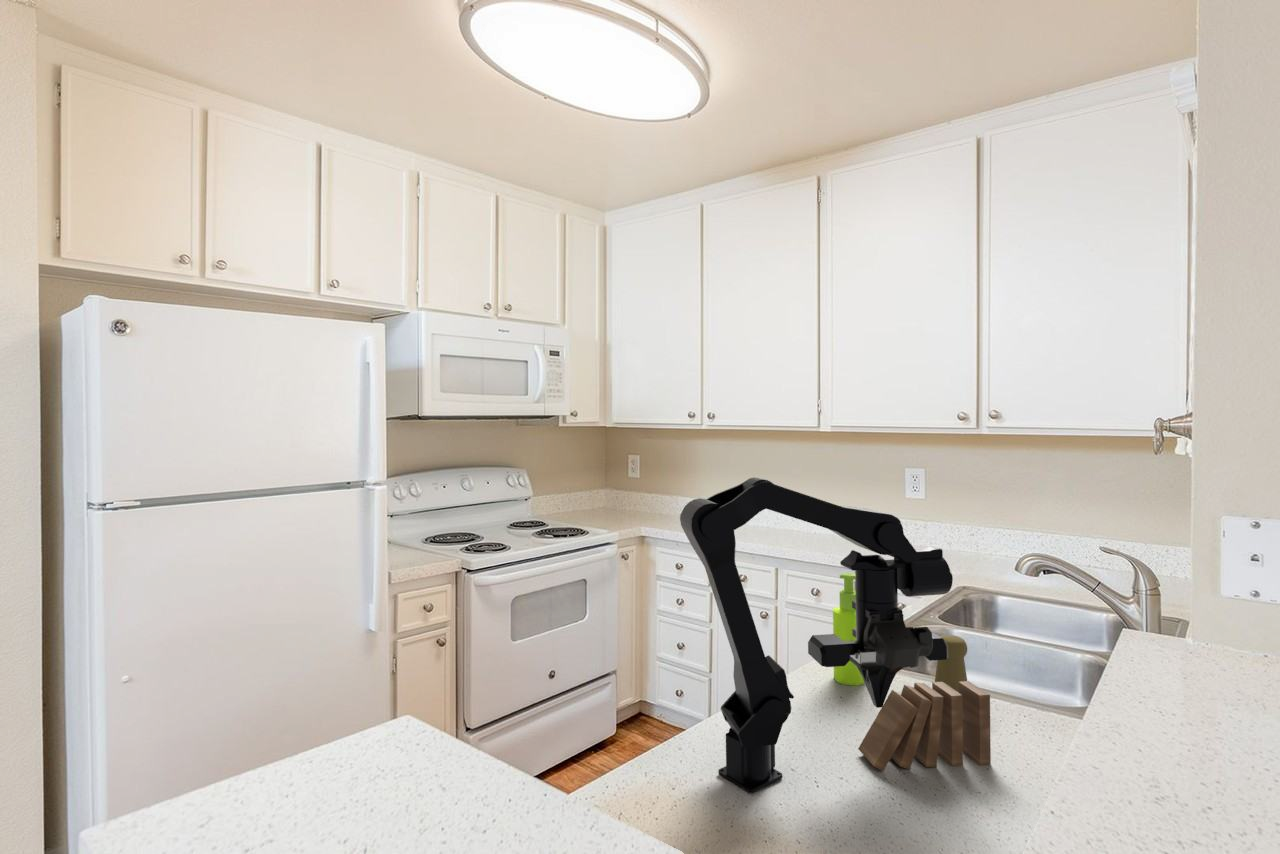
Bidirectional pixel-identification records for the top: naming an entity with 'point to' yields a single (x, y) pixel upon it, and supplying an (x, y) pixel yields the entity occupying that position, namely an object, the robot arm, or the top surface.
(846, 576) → the soap dispenser
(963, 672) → the cork
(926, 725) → the tile
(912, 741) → the tile
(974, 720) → the tile
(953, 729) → the tile
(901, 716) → the tile
